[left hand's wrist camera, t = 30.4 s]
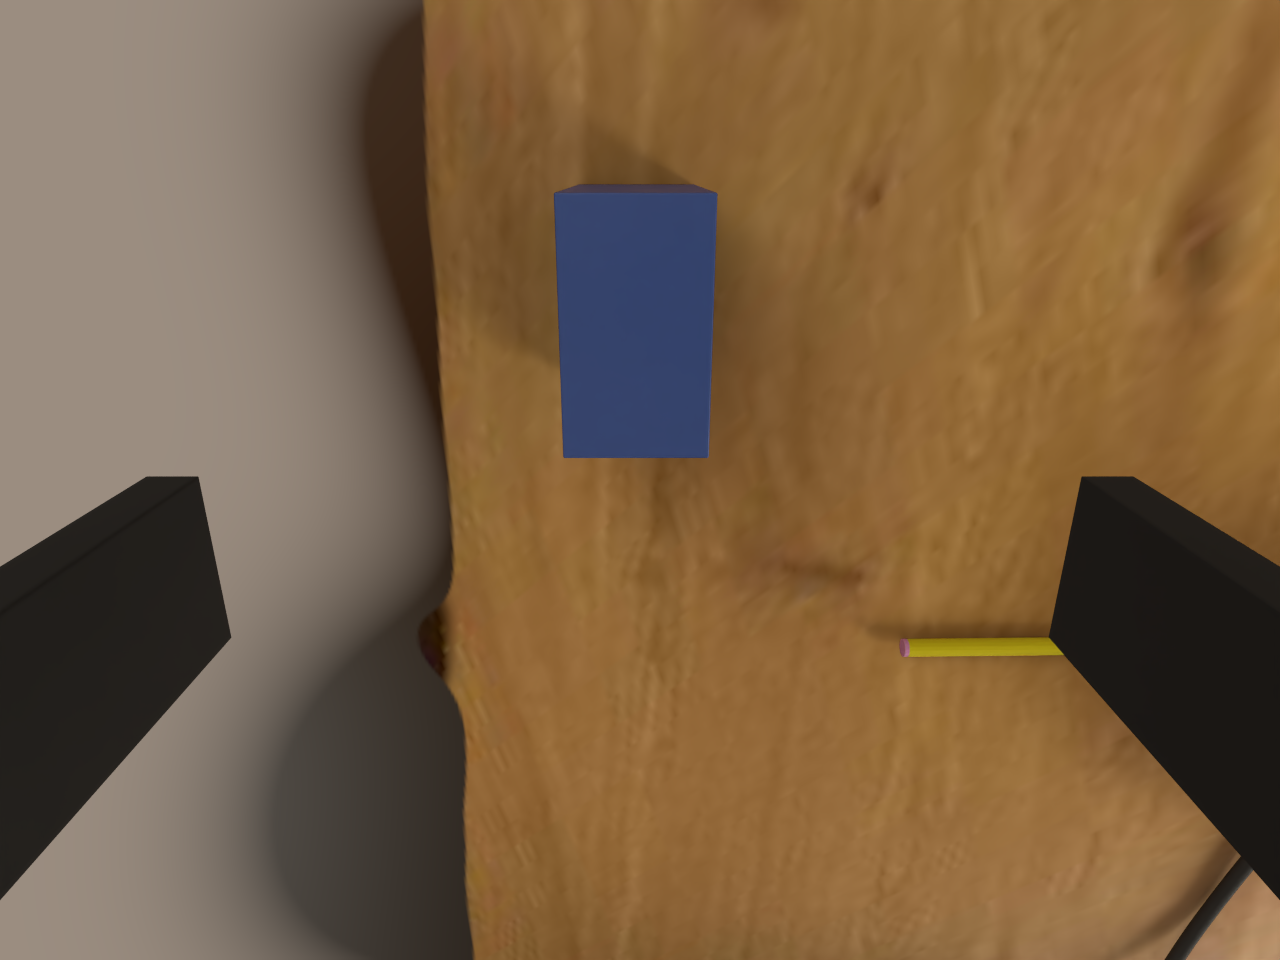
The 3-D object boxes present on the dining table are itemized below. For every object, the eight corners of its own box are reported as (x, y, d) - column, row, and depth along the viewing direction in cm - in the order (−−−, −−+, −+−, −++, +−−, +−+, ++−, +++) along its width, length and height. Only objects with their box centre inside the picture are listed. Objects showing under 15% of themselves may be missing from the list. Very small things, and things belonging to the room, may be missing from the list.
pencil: (898, 650, 46) (904, 660, 45) (900, 635, 46) (906, 644, 45) (1190, 647, 46) (1201, 657, 45) (1194, 632, 46) (1206, 642, 45)
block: (578, 184, 37) (553, 192, 26) (694, 184, 37) (717, 192, 26) (583, 380, 41) (563, 458, 30) (690, 380, 41) (708, 458, 30)
